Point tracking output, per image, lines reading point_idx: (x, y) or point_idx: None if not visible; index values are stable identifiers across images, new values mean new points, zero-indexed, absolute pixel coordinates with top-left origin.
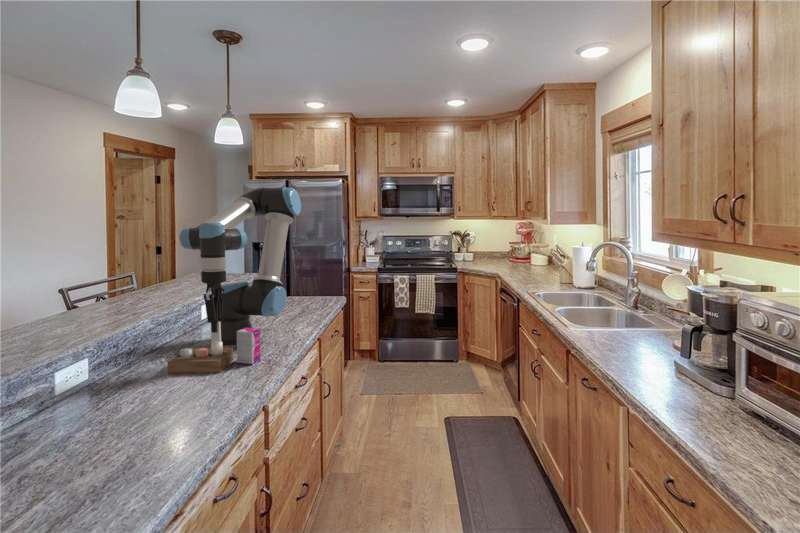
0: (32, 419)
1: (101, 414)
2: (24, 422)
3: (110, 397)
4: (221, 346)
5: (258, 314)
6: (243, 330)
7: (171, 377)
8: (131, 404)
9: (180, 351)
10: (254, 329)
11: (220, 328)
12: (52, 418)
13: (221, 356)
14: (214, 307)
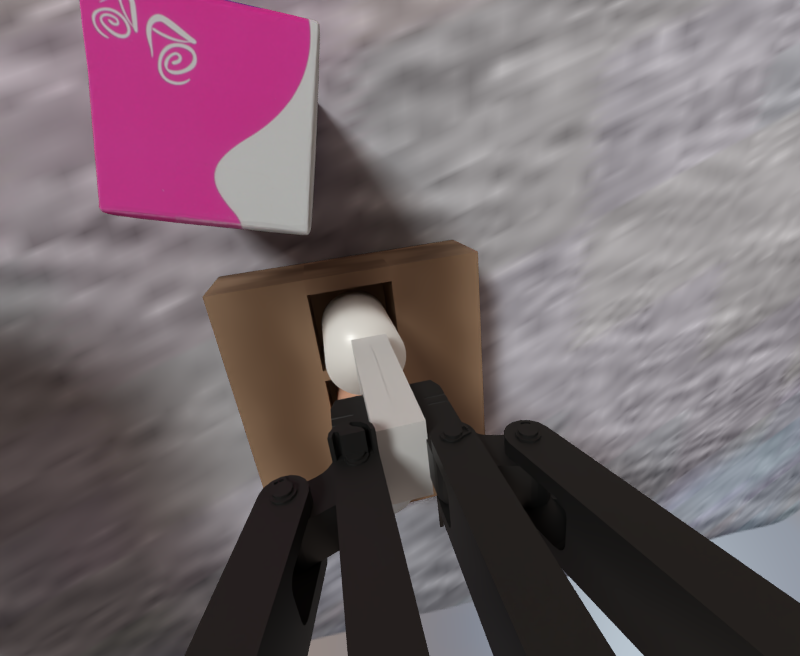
0: (751, 519)
1: (770, 403)
2: (762, 520)
3: (659, 465)
4: (371, 312)
5: None
6: (259, 169)
7: (503, 411)
8: (725, 375)
9: (406, 502)
10: (164, 35)
11: (370, 387)
12: (758, 487)
13: (396, 280)
14: (703, 576)
